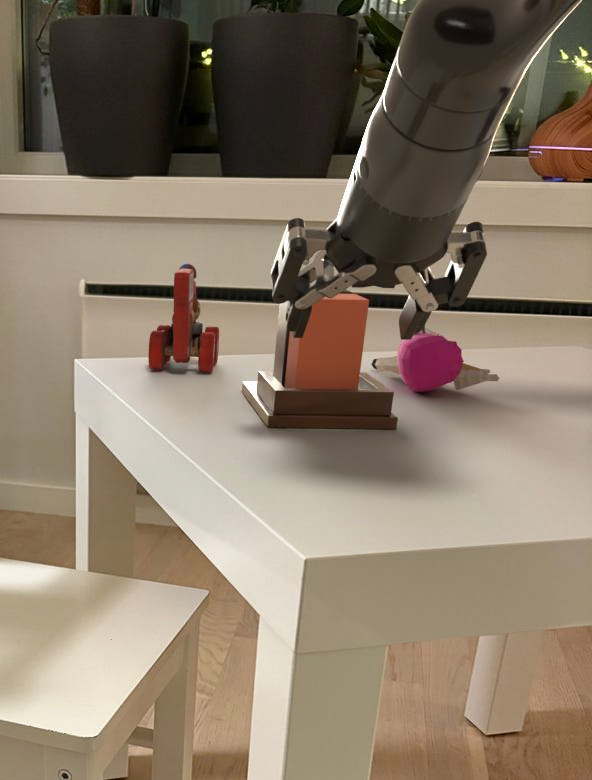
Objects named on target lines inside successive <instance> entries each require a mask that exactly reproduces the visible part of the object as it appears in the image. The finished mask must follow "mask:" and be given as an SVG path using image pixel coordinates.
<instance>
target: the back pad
mask: <svg viewBox="0 0 592 780" xmlns="http://www.w3.org/2000/svg"><path fill="white" fill-rule="evenodd" d="M369 304H370V299H368V298H366V297H364V296H361V295H359V294H357V293H351V294H338V295H336V296H335V297H333V298H331V299H329V298H327V297H324V298H322V299H321V300H319V301H318V302H316V303H315V304H313V305H312V311H311V314H310V317H309V320H308V323H307V326H306V329H305V332H304V335H303V338H293V335H292V331H290V335H289V345H288V356H287V366H286V377H285V387H284V388H294V389H358V384H359V376H360V372H361V367H362V361H363V360H362V359H363V352H364V344H365V336H366V328H367V322H368V321H367V320H368V313H369Z"/></svg>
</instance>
